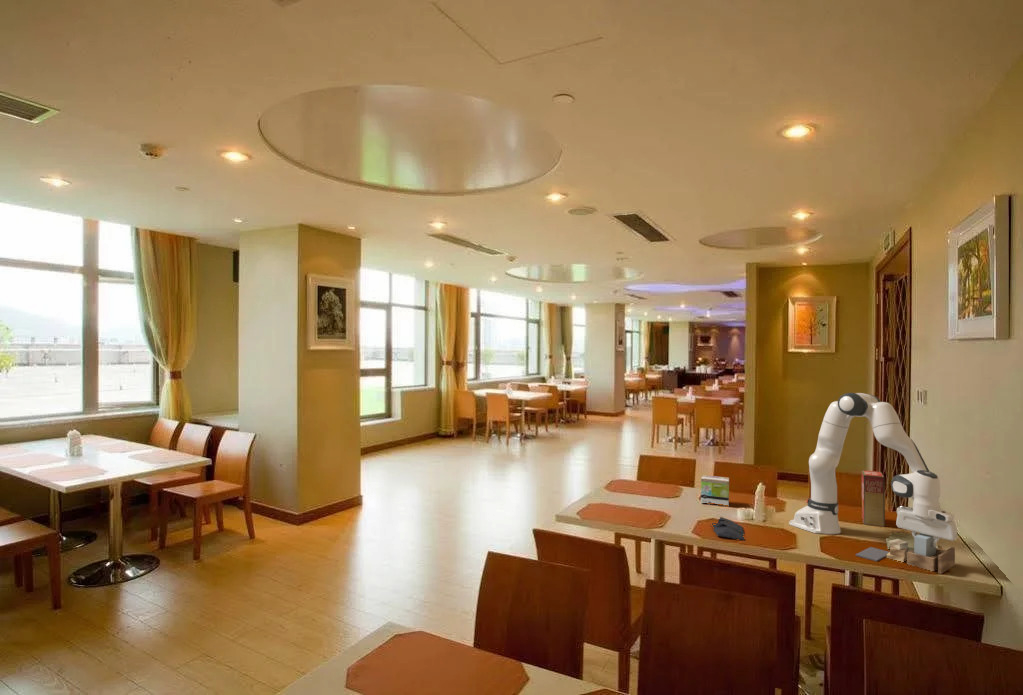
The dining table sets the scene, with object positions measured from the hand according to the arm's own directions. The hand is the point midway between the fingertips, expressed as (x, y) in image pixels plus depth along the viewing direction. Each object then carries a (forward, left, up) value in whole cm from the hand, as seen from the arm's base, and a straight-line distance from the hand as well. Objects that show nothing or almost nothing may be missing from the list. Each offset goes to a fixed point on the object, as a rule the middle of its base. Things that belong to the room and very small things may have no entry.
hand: (925, 544), depth 225 cm
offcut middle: (-9, -2, -6) cm, 11 cm away
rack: (+2, 0, -8) cm, 8 cm away
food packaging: (-35, +43, -8) cm, 57 cm away
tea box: (-102, +7, -8) cm, 103 cm away
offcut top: (-9, -1, -4) cm, 10 cm away
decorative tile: (-10, +17, -9) cm, 22 cm away
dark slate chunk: (-69, -31, -9) cm, 77 cm away
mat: (-16, -7, -8) cm, 19 cm away
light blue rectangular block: (0, 0, -4) cm, 4 cm away
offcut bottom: (-9, -2, -9) cm, 12 cm away
